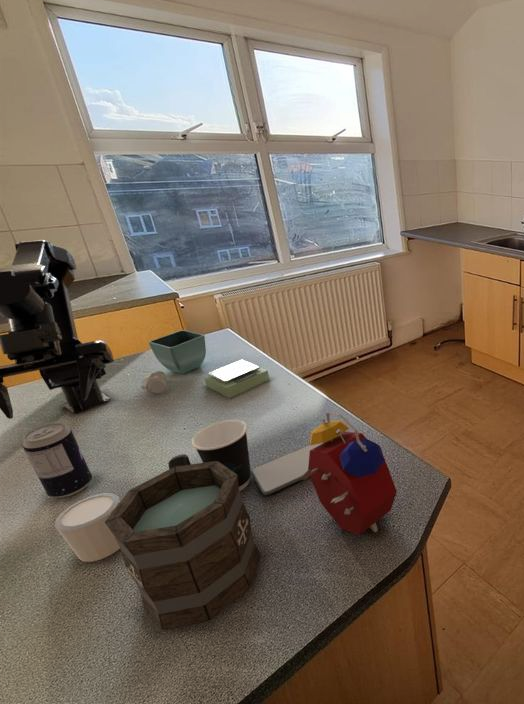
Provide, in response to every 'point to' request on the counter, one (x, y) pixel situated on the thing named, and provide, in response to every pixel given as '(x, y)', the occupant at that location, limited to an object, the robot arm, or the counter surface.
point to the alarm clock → (350, 476)
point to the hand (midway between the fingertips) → (48, 408)
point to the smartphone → (282, 470)
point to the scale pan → (233, 371)
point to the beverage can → (57, 459)
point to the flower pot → (180, 350)
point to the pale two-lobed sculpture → (155, 382)
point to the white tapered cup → (89, 527)
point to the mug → (186, 541)
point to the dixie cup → (226, 447)
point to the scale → (237, 383)
